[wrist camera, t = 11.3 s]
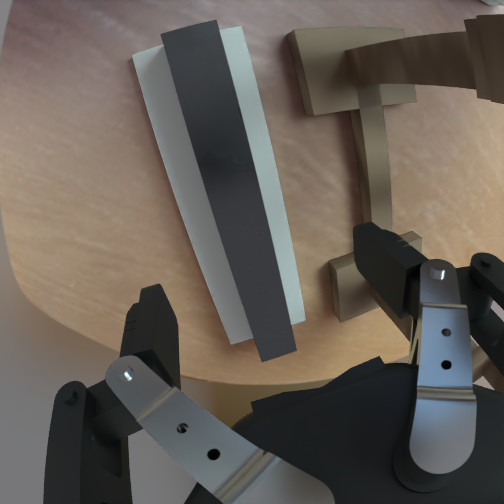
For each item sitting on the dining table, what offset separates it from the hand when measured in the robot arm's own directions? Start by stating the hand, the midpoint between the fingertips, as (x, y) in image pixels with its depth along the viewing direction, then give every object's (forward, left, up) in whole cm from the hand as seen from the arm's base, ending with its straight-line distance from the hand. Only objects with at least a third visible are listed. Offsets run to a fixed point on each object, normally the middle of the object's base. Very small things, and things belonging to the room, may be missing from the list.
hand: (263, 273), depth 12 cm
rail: (+1, 0, -10) cm, 10 cm away
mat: (+1, 0, -10) cm, 10 cm away
